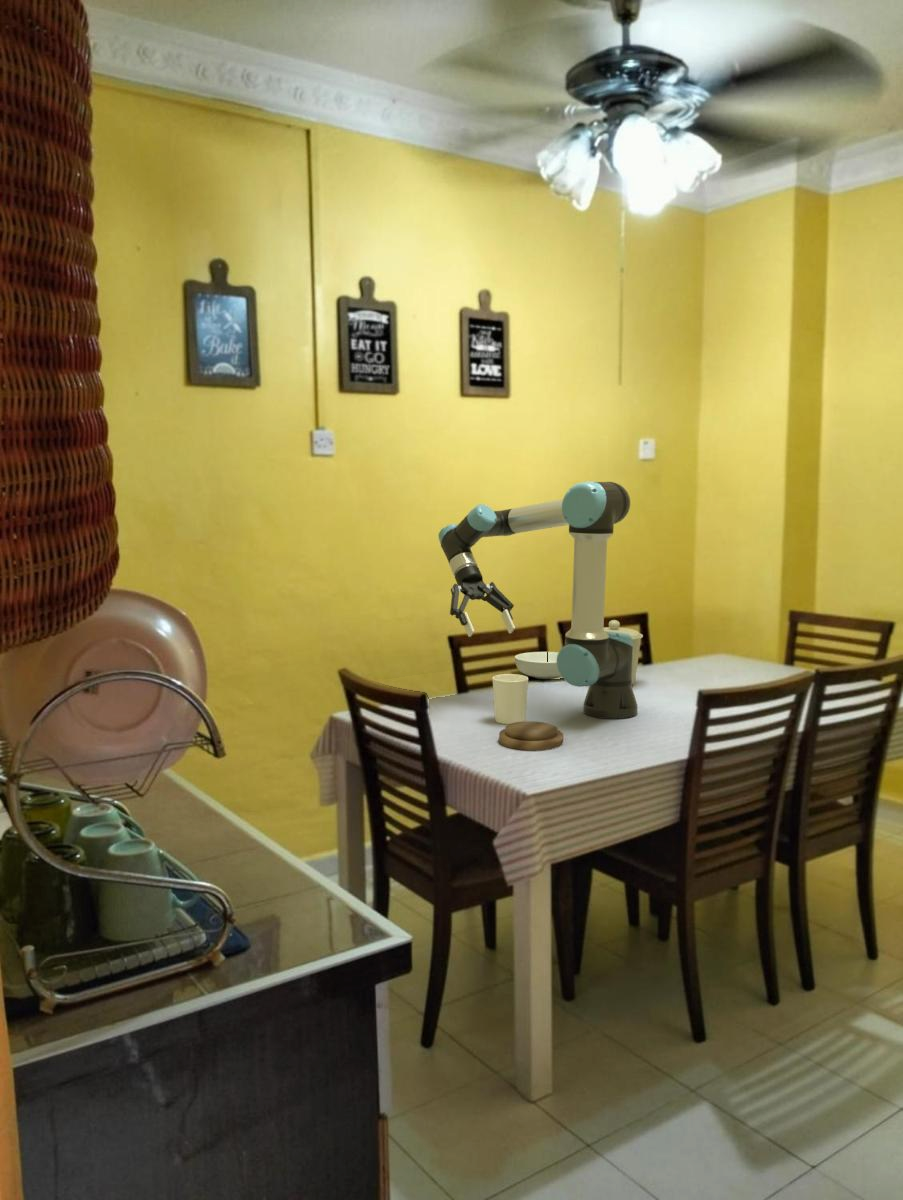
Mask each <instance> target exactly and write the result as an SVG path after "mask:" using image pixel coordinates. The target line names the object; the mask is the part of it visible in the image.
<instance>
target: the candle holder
mask: <svg viewBox="0 0 903 1200" xmlns="http://www.w3.org/2000/svg"><path fill="white" fill-rule="evenodd" d="M491 678H492V691H493V695H492V696H493V708H494V709H493V710H494V721H495V722H496V723H498V724H502V725H508V724H511V723H515V722H524V721H526V720H527V719H526V718H527V705H528V703H527V702H528V700H527V699H528V688H529V687H528V686H529V676H528V675H525V674H524V675H523V674H516V673H515V674H514V673H504V674H497V675H494V676H492V677H491Z"/></svg>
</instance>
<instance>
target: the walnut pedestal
mask: <svg viewBox="0 0 903 1200" xmlns="http://www.w3.org/2000/svg"><path fill="white" fill-rule="evenodd" d="M504 727H505V728H503V729H501V730H500V731H499V733H498V735H499V737H498V738H499V741H498V742H499V744H500V745H502V746H503V747H505V746H506V748H508V749H512V748H513V749H514V750H517V749H518V751H520V750H521V751H528V750H533V751H532V752H534V751H535V752H536V750H539V751H547V750H546V749H549V750H553V749H552V748H554V749H556V748H555V747H557V748H559V747H561V746H562V745H563V744H564V733H563V732H562V731H561V730H559V729H558V726H556V725H554V724H552V723H549V722H544V721H536V720H535V721H532V720H531V721H526V720H525V721H524V722H515V723H511V724H506V726H504ZM562 743H563V744H562ZM561 744H562V745H561ZM560 745H561V746H560ZM558 746H559V747H558Z"/></svg>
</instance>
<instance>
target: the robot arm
mask: <svg viewBox="0 0 903 1200" xmlns="http://www.w3.org/2000/svg"><path fill="white" fill-rule="evenodd" d="M630 508H631V498H630V495H629V493H628V491H627V490H626V488H625V487H624V486H623V485H621V484H620V483H616V482H614V481H592V480H591V481H584V482H578V483H576V484H574V485H573V486H571V487H570V488H569V489H568V490H567V491H566V493H565V495H564V496H563V498H562V499H556V500H552V501H546V502H540V503H535V504H531V505H529V504H528V505H524V506H520V507H519V506H518V507H514V508H508V509H502V510H493V509H492V508H491V507H489V506H488V505H486V504H482V503H480V504H477V505H476V506H475V507H474V508H472V509H471V510H470V511H469V512H468V514H467V515H466V516H464V518H462V520H461V521H460V522H459V523H458V524H457V523H450V524H448V525H446V527H443V528H441V529H440V531H439V532H438V541H439V543H440V547H441V549H442V551H443V553H444V556H445V557H446V559H447V562H448V564H449V567H450V569H451V572H452V574H453V576H454V579H455V582H456V583H454V584H453V586H451V588H450V593H451V602H450V603H451V604H450V609H449V610H450V611H449V615H451V616H454V617H455V619H458V620H459V623H460V625H461V626H463V627H464V629H465V631H466V635H467V636H468V637H470V638H471V637H472V636H473V634H474V633H475V628H474V626H473V624H472V622H471V619H470V617H469V614H468V611H465V610H466V607H467V605H468V602H469V600H471V601H475V600H478V601H480V600H482V602H487V603H488V604H489V605H491V606H492V607H493V608H495V610H497V611H499V612H500V613H501V614H500V616H501V618H502V621H503V623H504V625H505V627H506V630H507V632H508V634H512V633H513V632H514V630H515V629H516V626H515V624H514V622H513V620H514V618H513V616H512V612H511V611H512V609H513V608H514V606H515V605H514V603H512V602H511V601H510V600H509V599H508V598H507V597H506V596H505V595H504V594H503V592H501V591H500V589H498V588H497V586H496V584H495V583H494V582H493V581H490V583H489V584H486V583H485V582H484V580H483V575H482V573H481V571H480V568H479V567H478V563H477V560H476V558H475V556H474V555H473V552H472V551H473V550H472V549H471V548H472V547H473V546H474V545H476V543H477V542H479V540H481V539H482V538H489V537H491V538H492V537H508V536H512V535H515V534H520V533H527V532H533V531H539V530H545V529H546V530H547V529H550V528H557V527H563V526H568V534H569V535H570V536H571V537H572V538H573V540H574V543H573V544H574V545H573V564H572V565H573V566H572V568H573V570H572V571H573V572H572V574H573V575H572V593H571V594H572V600H571V625H570V629H569V630H568V631H567V632H565V637H564V646H562V648H561V649H560V650H559V651H558V652H559V653H558V655H557V668H558V671H559V673H560V675H561V678H563V679H564V681H565V682H566V683H568V684H569V685H571V686H574V687H578V688H579V687H580V688H581V687H588V686H589V687H588V689H587V692H586V695H585V698H584V701H583V705H582V707H583V708H582V710H583V711H582V712H583V714H585V715H587V716H591V717H594V718H601V719H609V718H611V719H612V720H614V719H615V718H616V720H618V719H617V718H619V719H627V718H628V717H629V718H632V716H633V717H635V716H637V715H638V702H637V699H636V697H635V694H634V690H633V684H632V651H633V645H632V637H631V636H630V635H629V634H626V633H618V632H607V631H604V629H603V628H604V627H605V625H604V624H605V623H604V622H605V621H604V620H605V602H606V601H605V600H606V598H605V597H606V594H605V593H606V575H607V574H606V573H607V556H608V555H607V553H608V540H609V539H610V538H611V537H612V536H613V535H614V525H615V524H616V525H617V524H618V523H620V522H621V521H623V520H624V519H625V518H626V517H627V515H628V514H629V511H630ZM460 593H462V594H463V595H464V596H463V598H462V601H461V603H460V605H459V598H460V597H459V596H460ZM613 718H614V719H613ZM629 718H628V719H629Z"/></svg>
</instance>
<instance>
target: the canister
mask: <svg viewBox="0 0 903 1200" xmlns="http://www.w3.org/2000/svg"><path fill="white" fill-rule="evenodd" d="M620 626H621V623H620V622H619V620H616V619H612V620H610V621H609V622H608V627H605V626H604V628H603V629H604V631H607V632H618V633H626V634H629V635H630V636H631V637H632V645H633V651H632V685H633V684H634V682H635V681H636V676H637V670H638V665H639V664H638V663H639V656H640V649H641V639H643V637H644V635H643V634H642V633H641V632H639V631H638V630H635V629H632V628H629V627H627V628H626V627H620Z"/></svg>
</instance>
